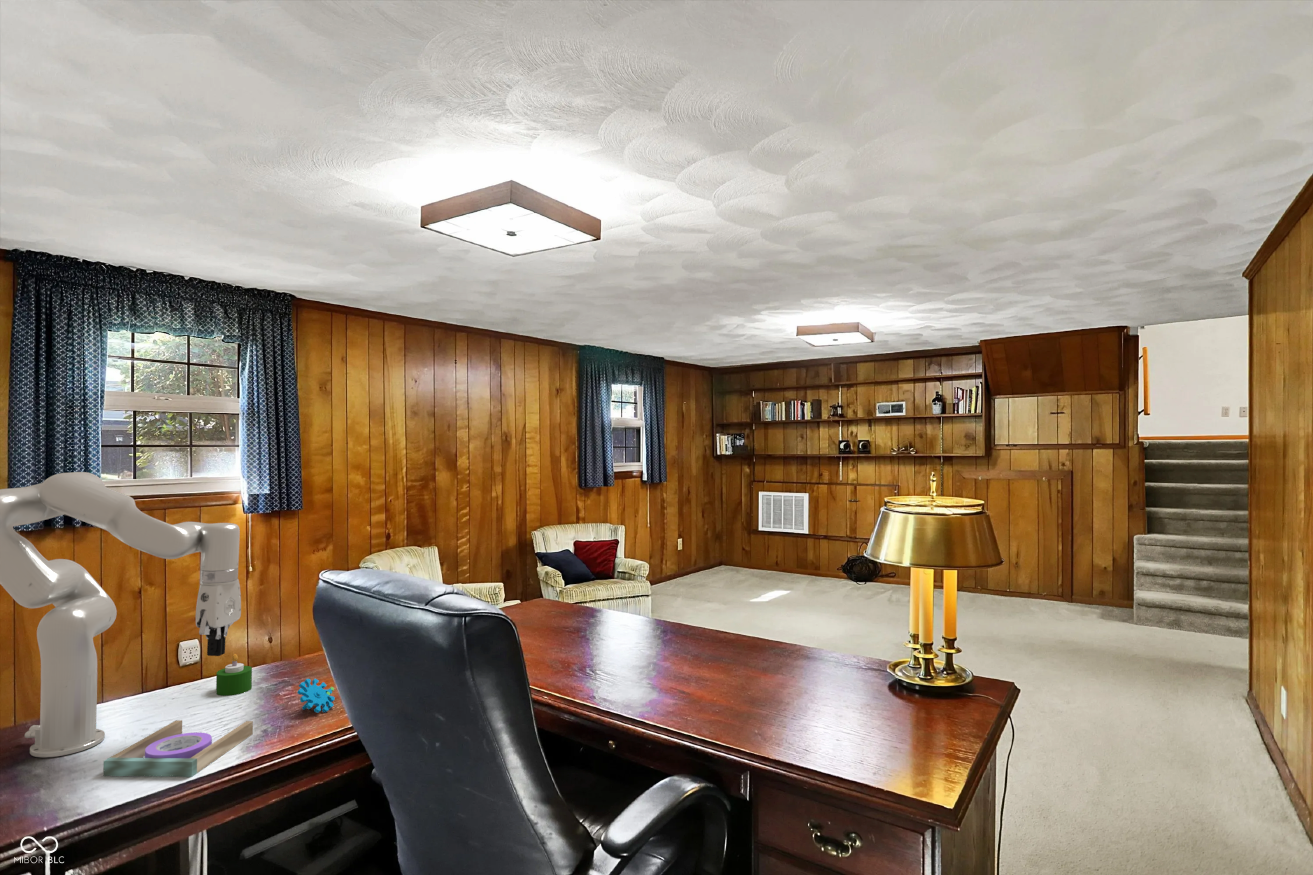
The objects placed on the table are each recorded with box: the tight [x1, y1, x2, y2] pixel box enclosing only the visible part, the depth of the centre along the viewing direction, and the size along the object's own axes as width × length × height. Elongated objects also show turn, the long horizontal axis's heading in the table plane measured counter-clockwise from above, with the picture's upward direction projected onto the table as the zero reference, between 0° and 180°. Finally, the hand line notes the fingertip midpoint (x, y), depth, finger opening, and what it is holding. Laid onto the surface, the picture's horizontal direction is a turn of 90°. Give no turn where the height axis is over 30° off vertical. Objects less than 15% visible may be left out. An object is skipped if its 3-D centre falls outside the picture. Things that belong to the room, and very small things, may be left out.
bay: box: [102, 719, 254, 778], centre depth 148 cm, size 18×20×3 cm
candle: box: [215, 653, 253, 697], centre depth 186 cm, size 8×8×10 cm
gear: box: [296, 678, 336, 714], centre depth 173 cm, size 11×6×10 cm
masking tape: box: [144, 731, 213, 758], centre depth 145 cm, size 12×12×4 cm
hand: (215, 654), depth 159 cm, fingers closed
